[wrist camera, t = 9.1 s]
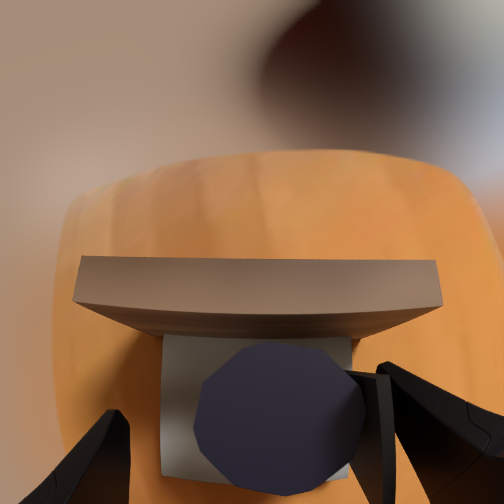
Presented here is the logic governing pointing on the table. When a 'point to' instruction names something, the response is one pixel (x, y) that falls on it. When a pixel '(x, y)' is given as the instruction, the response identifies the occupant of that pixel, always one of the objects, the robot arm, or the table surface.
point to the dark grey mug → (297, 422)
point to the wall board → (246, 320)
